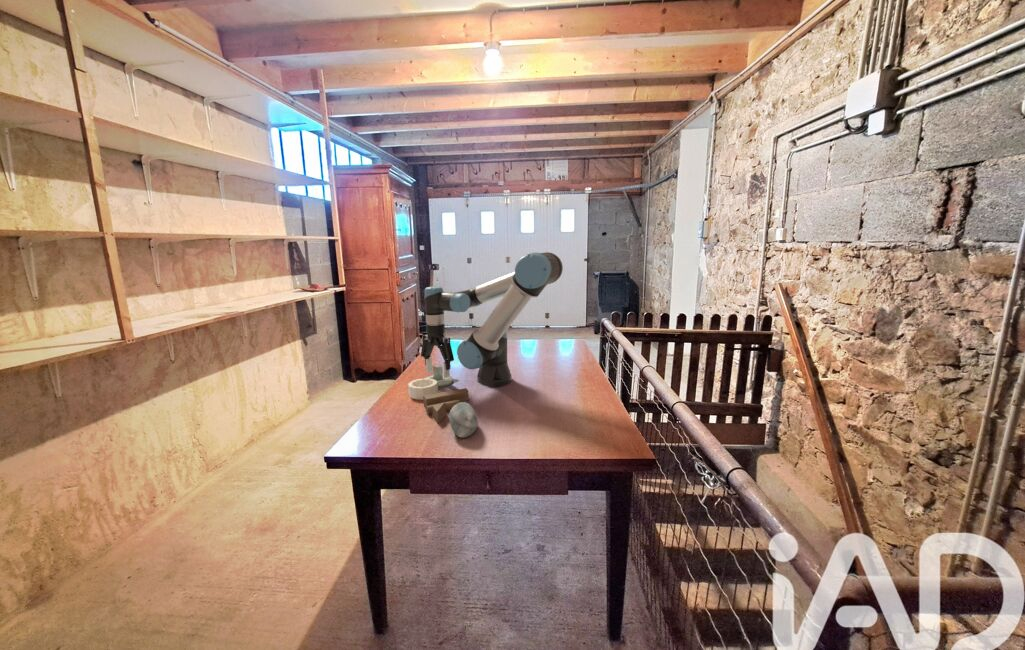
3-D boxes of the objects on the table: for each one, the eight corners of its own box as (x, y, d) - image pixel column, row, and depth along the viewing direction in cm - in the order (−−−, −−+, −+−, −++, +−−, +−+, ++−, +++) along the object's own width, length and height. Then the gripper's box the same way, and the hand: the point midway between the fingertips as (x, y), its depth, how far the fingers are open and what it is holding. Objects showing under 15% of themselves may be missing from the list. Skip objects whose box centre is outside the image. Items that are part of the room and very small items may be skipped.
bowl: (443, 393, 156) (442, 381, 155) (423, 402, 146) (422, 390, 145) (423, 388, 161) (422, 376, 160) (403, 396, 152) (402, 384, 151)
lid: (458, 380, 168) (457, 365, 167) (439, 389, 159) (438, 372, 157) (437, 375, 175) (436, 361, 173) (418, 383, 165) (417, 368, 163)
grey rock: (444, 412, 130) (456, 390, 126) (470, 421, 133) (483, 400, 129) (441, 440, 118) (455, 417, 114) (469, 450, 120) (484, 427, 117)
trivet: (459, 381, 169) (459, 380, 169) (439, 390, 158) (439, 389, 158) (437, 376, 176) (437, 375, 175) (416, 385, 165) (416, 384, 165)
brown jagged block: (420, 393, 142) (466, 384, 150) (421, 407, 143) (466, 398, 151) (433, 409, 127) (483, 399, 136) (434, 425, 129) (484, 414, 137)
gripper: (461, 324, 159) (463, 376, 163) (422, 319, 170) (425, 368, 175) (449, 328, 152) (451, 381, 157) (409, 322, 164) (413, 372, 169)
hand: (438, 374), depth 166 cm, fingers open, 9 cm apart
